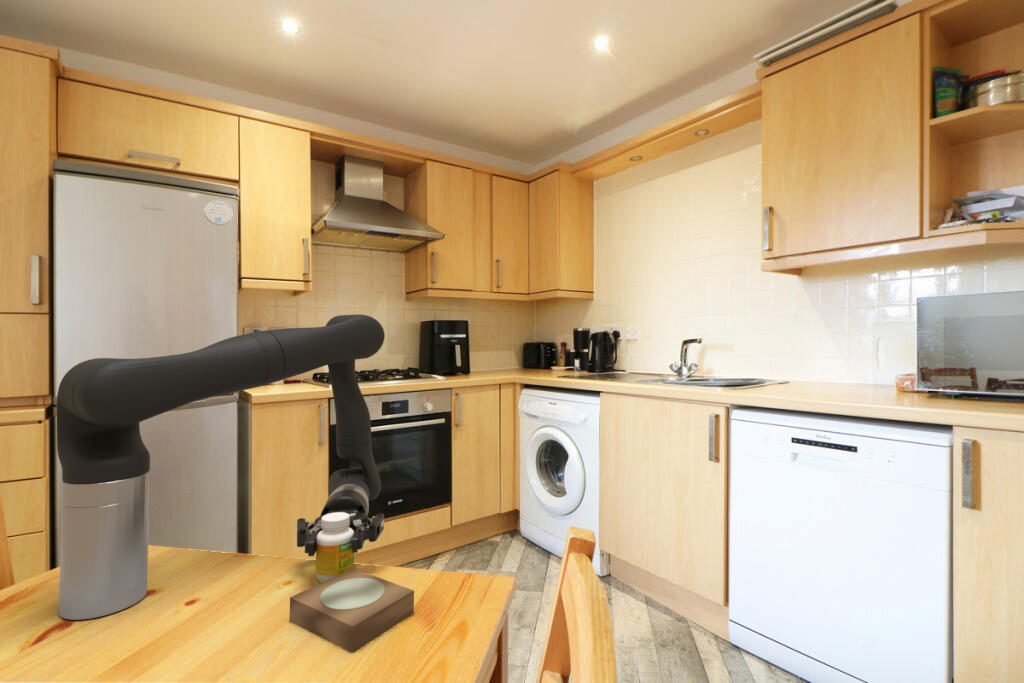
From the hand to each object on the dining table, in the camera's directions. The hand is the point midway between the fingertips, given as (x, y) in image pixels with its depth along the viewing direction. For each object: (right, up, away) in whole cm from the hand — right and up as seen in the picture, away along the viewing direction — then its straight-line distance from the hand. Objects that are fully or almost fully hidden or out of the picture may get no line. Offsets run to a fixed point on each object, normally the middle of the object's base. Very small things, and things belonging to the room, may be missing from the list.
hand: (333, 547), depth 70 cm
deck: (+5, -6, -7) cm, 11 cm away
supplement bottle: (-1, -6, +2) cm, 7 cm away
